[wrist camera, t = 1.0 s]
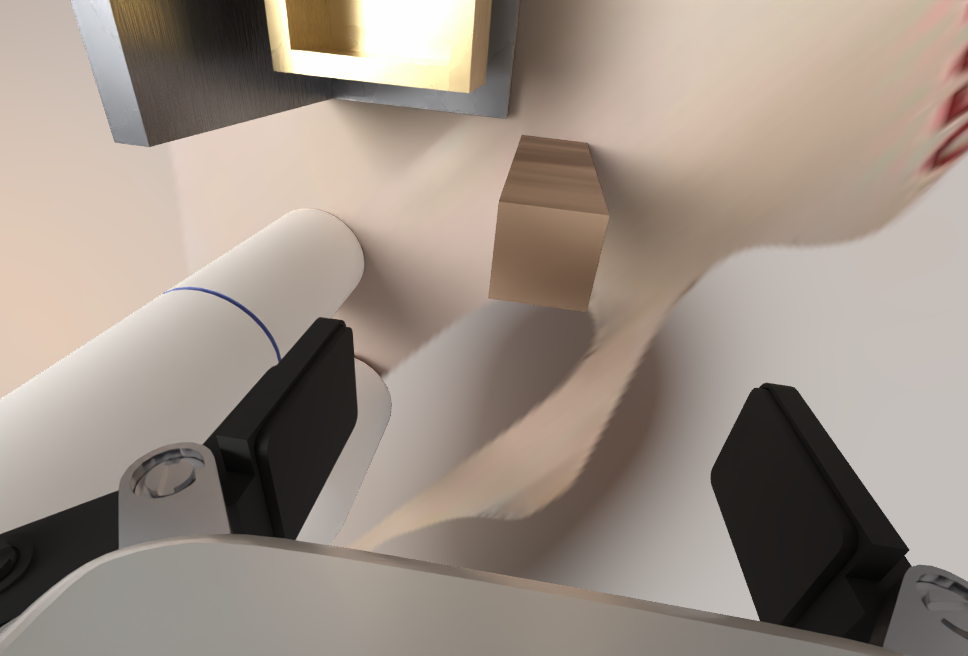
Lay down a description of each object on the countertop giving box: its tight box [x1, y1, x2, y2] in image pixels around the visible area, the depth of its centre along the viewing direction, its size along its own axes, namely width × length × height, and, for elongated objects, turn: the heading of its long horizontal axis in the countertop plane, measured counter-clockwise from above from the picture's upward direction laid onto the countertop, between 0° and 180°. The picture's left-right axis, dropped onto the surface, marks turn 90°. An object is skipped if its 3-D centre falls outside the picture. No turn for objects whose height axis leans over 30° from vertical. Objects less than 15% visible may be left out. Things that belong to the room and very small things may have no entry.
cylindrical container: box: [0, 208, 364, 534], centre depth 24 cm, size 7×7×25 cm
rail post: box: [489, 135, 610, 312], centre depth 24 cm, size 4×4×14 cm
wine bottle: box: [296, 358, 392, 545], centre depth 29 cm, size 10×10×30 cm
